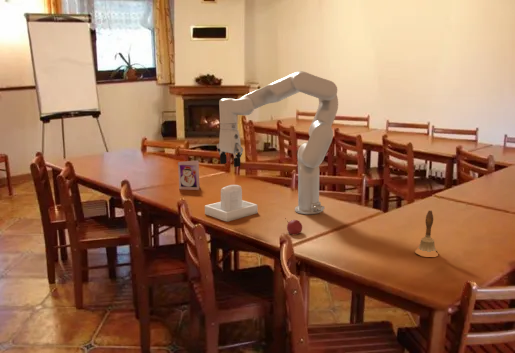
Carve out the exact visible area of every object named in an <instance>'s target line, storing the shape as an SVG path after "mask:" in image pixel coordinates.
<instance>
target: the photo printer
mask: <svg viewBox="0 0 515 353" xmlns="http://www.w3.org/2000/svg"><path fill="white" fill-rule="evenodd" d="M242 200H243V189H242V186H241V185H238V184H229V185H226V186H224V187H221V189H220V202H221V210H222V211H225V212H229V211H233V210H236V209H240V208H242Z"/></svg>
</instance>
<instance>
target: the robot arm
mask: <svg viewBox="0 0 515 353" xmlns="http://www.w3.org/2000/svg"><path fill="white" fill-rule="evenodd" d="M298 93H303V94H305V95H308V96H311V97H314V98H316V99H318V107H317V110H316V112H315V115H314V117H313V119H312V120H311V123H310V125H309V128H308V136H309V138H308V140H307V142H304V143H302V144H301V145H299V148H298V150H297V156H296V157H297V171H298V174H297V175H298V176H297V179H298V180H297V182H298V184H297V187H298V188H297V199H298V201H297V206H295V207H294V211H295V212H296V213H298V214H301V215H317V214H320V213H322V212H324V209H325V206H324V205H322V202H321V201H320V165H321V164H322V162H323V161H324V159H325V157H326V155H327V153H328V151H329V148H330V146H331V144H332V142H333V137H334V130H333V128H332V125H333V123H334V122H335V118H336V115H337V113H338V109H339V99H338V98H339V97H338V95H337V94H338V86H337V85H336V83H335V82H334V81H332V80H329V79H327V78H323V77H321V76H317V75H315V74H311V73H309V72H306V71H301V70H298V71H295V72H293V73H291V74H287V76H284V77H282V78H279V79H278V80H275V81H274V82H271V83H269V84H266V85H265V86H263V87H261V88H258V89H256V90H254V91H252V92H249V93H248V94H245V95H243V96H240V97H239V98H237V99H235V98H232V97H229V98H228V97H226V98H225V97H224V98H221V99H219V103H218V105H219V128H220V129H219V142H218V143H217V144H216V148H217V151H218V155H219V161H220V162H219V164H220V165H224V164H227V153H229V154H232V155H233V167H234V168H237V167H240V166H241V158H242V155H243V152H244V148H243V146H241V145H242V144H241V136H240V130H239V129H238V115H239V116H249V115H251V114H252V113H253V112H254V111H255V110H256V109H258V108H261V107H262V106H266V105H268V104H273V103H278V102H281V101H283V100H285V99H287V98H289V97H292V96H294V95H297V94H298Z"/></svg>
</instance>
